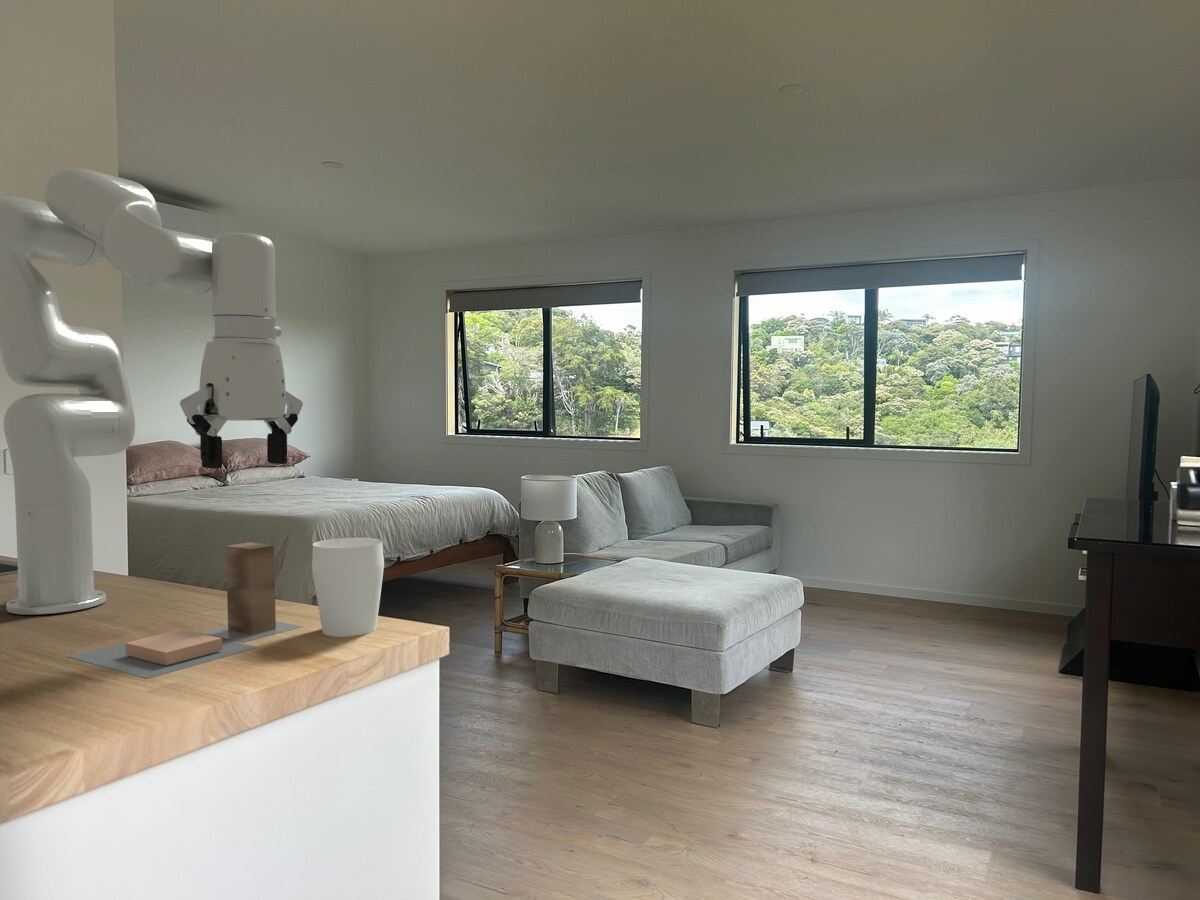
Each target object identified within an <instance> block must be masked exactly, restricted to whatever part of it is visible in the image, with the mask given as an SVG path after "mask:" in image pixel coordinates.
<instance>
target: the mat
mask: <svg viewBox="0 0 1200 900" xmlns="http://www.w3.org/2000/svg"><path fill="white" fill-rule="evenodd" d="M125 643H126V642H123V643H119V644H115V645H110V646H107V647H105V646H104V647H103V648H102V647H101V648H97V649H93V650H89V651H85V652H82V653H81V652H80V653H76V654H73V655H68V656H67V658H70V659H73V660H78V661H81V662H84V663H89V664H91V665H96V666H97V667H98V666H99V667H103V668H106V669H110V670H113V671H118V672H122V673H124V674H128V675H132V676H135V677H138V678H142V679H146V680H148V679H151V678H155V677H158V676H159V677H160V676H162V675H167V674H170V673H174V672H176V671H180V670H185V669H187V668H191V667H194V666H198V665H201V664H205V663H209V662H213V661H216V660H217V661H218V660H221V659H223V658H227V657H230V656H234V655H238V654H241V653H245V652H247V651H252V650H255V649H258V648H259V649H260V647H259V646H255V645H251V644H246V643H243V642H238V641H234V640H229V639H224V638H222V650H220V651H218V652H216V653H212V654H208V655H205V656H201V657H197V658H194V659H190V660H186V661H183V662H179V663H175V664H171V665H168V666H166V665H162V664H158V663H154V662H150V661H146V660H142V659H139V658H135V657H131V656H129V655H126V651H125Z"/></svg>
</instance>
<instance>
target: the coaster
mask: <svg viewBox="0 0 1200 900" xmlns="http://www.w3.org/2000/svg"><path fill="white" fill-rule="evenodd" d="M303 627H304V626H302V625H298V624H291V623H287V622H283V621H276V629H274V630H270V631H266V632H262V633H259V634H255V635H250V634H245V633H241V632H236V631H231V630H228V625H224V626H221V627H216V628H213V629H208V630H205V631H200V632H199V633H200V634H205V635H209V636H214V637H218V638H222V639H224V640H228V641H233V642H238V643H242V644H246V643H249V642H251V641H255V640H259V639H264V638H266V637H270V636H274V635H278V634H282V633H285V632H289V631H293V630H296V629H301V628H303Z"/></svg>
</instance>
